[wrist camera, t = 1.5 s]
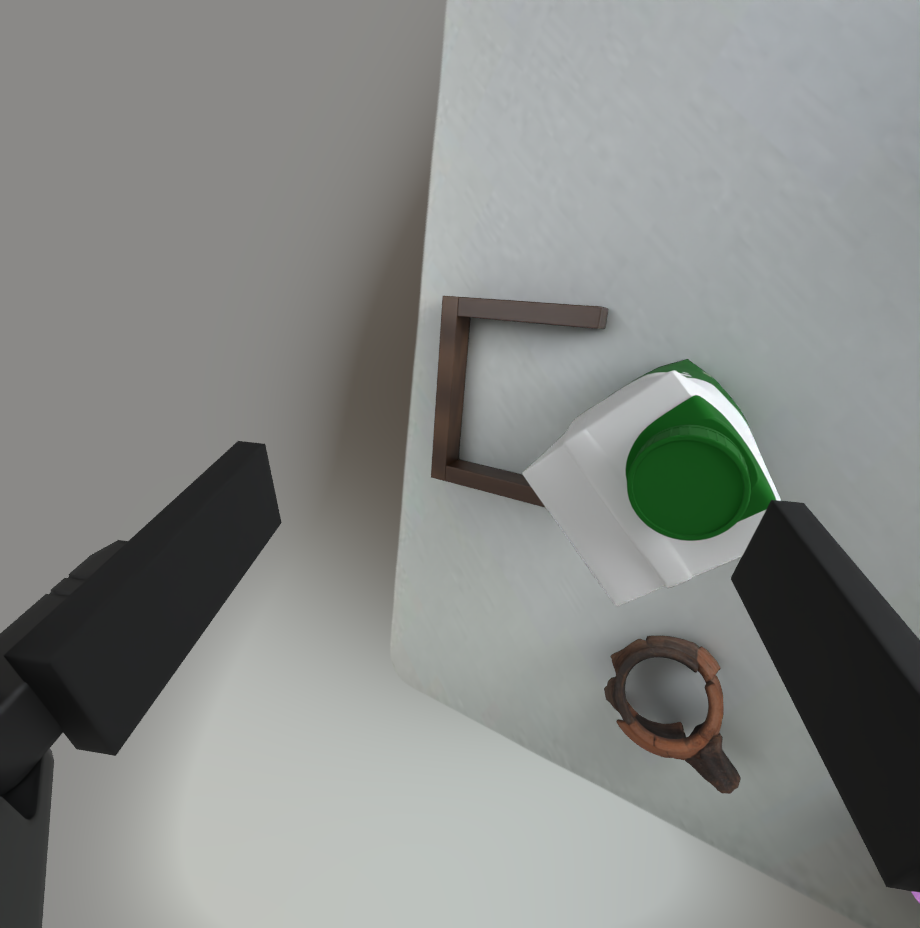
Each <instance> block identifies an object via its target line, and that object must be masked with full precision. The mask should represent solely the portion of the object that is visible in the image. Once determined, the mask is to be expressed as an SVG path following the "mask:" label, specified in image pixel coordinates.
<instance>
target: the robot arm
mask: <svg viewBox="0 0 920 928" xmlns="http://www.w3.org/2000/svg"><path fill="white" fill-rule="evenodd" d="M280 524H281V519H280V514H279V509H278V504H277V499H276V494H275V490H274V485H273V480H272V475H271V470H270V465H269V461H268V456H267V451H266V446H265V444H260V443H251V442H242V441H238V442H237V443H235V444H234V445H233V447H231V448H230V449H229V450H228V451H227V452H226V453H225V454H223V456H221V457H220V458H219V459H218V460H217V461H216V462H215V463H214V464H213V465H211V466H210V467H209V468H208V469H207V470H206V471H205V472H204V473H203V474H202V475H200V476H199V477H198V478H197V479H196V480H195V481H194V482H193V483H192V484H191V485H190V486H188V487H187V488H186V489H185V490H184V491H183V492H182V493H181V494H180V495H179V496H177V498H175V499H174V500H173V501H172V502H171V503H170V504H169V505H168V506H166V507H165V508H164V509H163V510H162V511H161V512H160V513H159V514H158V515H157V516H156V517H154V518H153V519H152V520H151V521H150V522H149V523H148V524H147V525H146V526H145V527H144V528H142V529H141V530H140V531H139V532H138V533H137V534H136V535H135V536H134V537H133V538H131V539H130V540H129V541H121V540H118V541H116V542H114V543H112V544H110V545H109V546H107V547H105V548H103V549H101V550H99V551H98V552H96V553H94V554H92V555H91V556H89V557H88V558H87V559H86V560H85V561H84V562H82V563H81V564H80V565H79V566H78V567H77V568H76V569H74V570H73V571H72V572H71V573H70V574H69V577H68V578H64V579H63V580H62V581H61V582H60V583H58V584H57V585H56V586H55V587H54V588H52V589H51V593H50V594H46V595H44V596H43V597H42V598H41V599H40V600H39V601H38V602H36V603H35V604H34V605H33V606H32V607H31V608H30V609H28V610H27V611H26V612H25V613H24V614H22V615H21V616H20V617H19V618H18V619H17V620H16V621H14V622H13V623H12V624H11V625H10V626H9V627H7V629H5V630H4V631H3V632H2V633H1V634H0V928H42V918H43V904H44V891H45V877H46V863H47V850H48V836H49V822H50V809H51V795H52V782H53V768H54V759H53V755H52V751H51V749H50V747H51V746H52V745H53V743H54V742H55V741H56V740H57V739H58V737H59V736H60V735H61V734H62V733H63V732H64V734H65V735H66V736H67V738H68V739H69V740H70V741H71V743H72V744H73V745H74V746H75V748H76V749H79V750H85V751H91V752H97V753H103V754H109V755H114V756H115V755H116V754H117V753H118V752H119V750H120V749H121V747H122V746H123V745H124V743H125V742H126V740H127V739H128V737H129V736H130V735H131V733H132V732H133V730H134V729H135V728H136V726H137V725H138V724H139V722H140V721H141V719H142V718H143V716H144V715H145V713H146V712H147V711H148V709H149V708H150V707H151V705H152V704H153V702H154V701H155V699H156V698H157V697H158V695H159V694H160V693H161V691H162V690H163V688H164V687H165V686H166V684H167V683H168V681H169V680H170V679H171V677H172V676H173V674H174V673H175V671H176V670H177V669H178V667H179V666H180V664H181V663H182V662H183V660H184V659H185V658H186V656H187V655H188V653H189V652H190V650H191V649H192V648H193V646H194V645H195V643H196V642H197V641H198V639H199V638H200V636H201V635H202V634H203V632H204V631H205V629H206V628H207V627H208V625H209V624H210V622H211V621H212V619H213V618H214V617H215V615H216V614H217V613H218V611H219V610H220V608H221V607H222V605H223V604H224V603H225V601H226V600H227V598H228V597H229V596H230V594H231V593H232V591H233V590H234V588H235V587H236V586H237V584H238V583H239V582H240V580H241V579H242V577H243V576H244V574H245V573H246V572H247V570H248V569H249V568H250V566H251V565H252V563H253V562H254V561H255V559H256V558H257V556H258V555H259V554H260V552H261V550H262V549H263V548H264V546H265V545H266V544H267V542H268V541H269V539H270V538H271V537H272V535H273V534H274V532H275V531H276V530H277V528H278V527H279V525H280ZM731 580H732V582H733V584H734V586H735V588H736V590H737V592H738V594H739V596H740V598H741V600H742V602H743V604H744V606H745V608H746V610H747V612H748V614H749V616H750V618H751V620H752V621H753V623H754V625H755V627H756V629H757V631H758V633H759V635H760V637H761V639H762V641H763V643H764V645H765V647H766V649H767V651H768V653H769V655H770V657H771V659H772V661H773V663H774V665H775V667H776V669H777V671H778V673H779V675H780V677H781V679H782V681H783V683H784V685H785V687H786V689H787V691H788V693H789V695H790V697H791V699H792V701H793V703H794V705H795V707H796V709H797V711H798V713H799V714H800V716H801V718H802V720H803V722H804V724H805V726H806V728H807V730H808V732H809V734H810V736H811V738H812V740H813V742H814V744H815V746H816V748H817V750H818V752H819V754H820V756H821V758H822V760H823V762H824V764H825V766H826V768H827V770H828V772H829V774H830V776H831V778H832V780H833V782H834V784H835V786H836V788H837V790H838V792H839V794H840V796H841V798H842V800H843V802H844V804H845V806H846V808H847V809H848V811H849V813H850V815H851V817H852V819H853V821H854V823H855V825H856V827H857V829H858V831H859V833H860V835H861V837H862V839H863V841H864V843H865V845H866V847H867V849H868V851H869V853H870V855H871V857H872V859H873V861H874V863H875V865H876V867H877V869H878V871H879V873H880V875H881V877H882V879H883V881H884V883H885V885H886V887H890V888H896V889H902V890H908V891H914V892H920V640H919V639H918V638H917V636H916V635H915V634H914V633H913V632H912V631H911V629H910V628H909V627H908V626H907V625H906V623H905V622H904V621H903V620H902V619H901V617H900V616H899V615H898V614H897V613H896V612H895V610H894V609H893V608H892V607H891V606H890V604H889V603H888V602H887V601H886V600H885V599H884V597H883V596H882V595H881V594H880V593H879V591H878V590H877V589H876V588H875V587H874V586H873V584H872V583H871V582H870V581H869V580H868V578H867V577H866V576H865V575H864V574H863V573H862V571H861V570H860V569H859V568H858V567H857V565H856V564H855V563H854V562H853V561H852V560H851V558H850V557H849V556H848V555H847V554H846V552H845V551H844V550H843V549H842V548H841V547H840V545H839V544H838V543H837V542H836V541H835V539H834V538H833V537H832V536H831V535H830V534H829V532H828V531H827V530H826V529H825V528H824V526H823V525H822V524H821V523H820V522H819V521H818V519H817V518H816V517H815V516H814V515H813V513H812V512H811V511H810V510H809V509H808V508H807V506H806V505H805V504H804V503H797V502H788V501H779V500H771V502H770V504H769V505H768V507H767V509H766V511H765V513H764V515H763V517H762V519H761V521H760V523H759V525H758V527H757V529H756V531H755V533H754V534H753V536H752V538H751V540H750V542H749V544H748V546H747V548H746V550H745V552H744V554H743V556H742V558H741V560H740V561H739V563H738V565H737V567H736V569H735V571H734V573H733V575H732V577H731Z"/></svg>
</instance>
